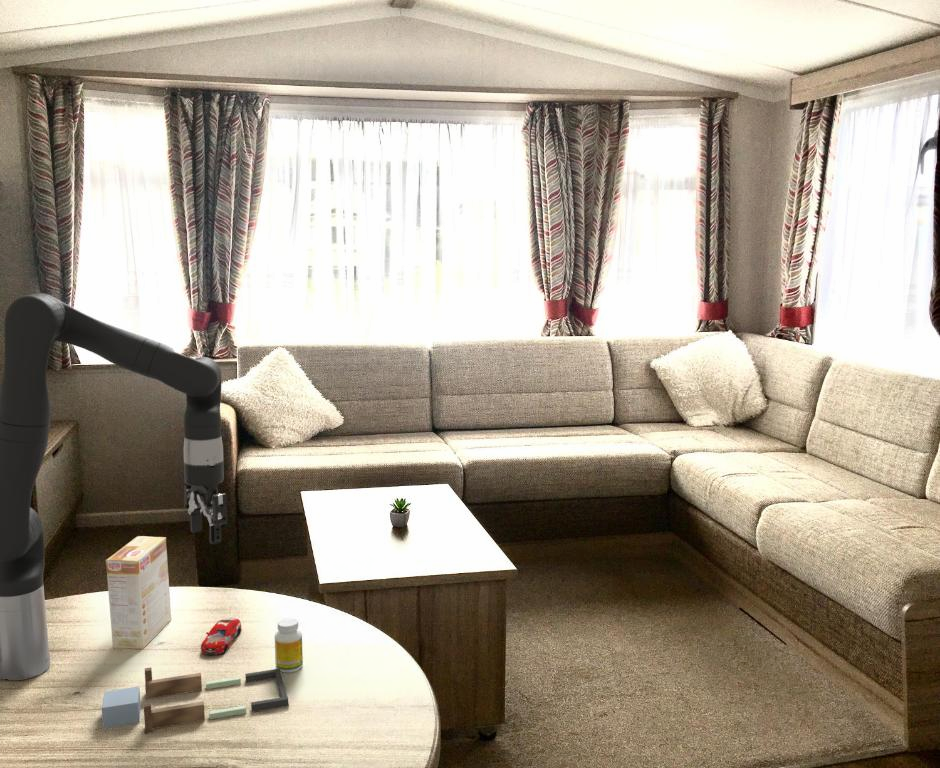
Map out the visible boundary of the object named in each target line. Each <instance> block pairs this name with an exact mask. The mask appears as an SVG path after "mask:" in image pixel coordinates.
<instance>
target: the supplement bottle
mask: <svg viewBox="0 0 940 768" xmlns="http://www.w3.org/2000/svg"><path fill="white" fill-rule="evenodd" d="M274 653H275V654H274V656H275V657H274V658H275V660H274V663H275V669H280V671H281V673H285V674H286V673H287V674H290V673H295V672H297V671H299V670H300V669H302V667H303V665H304V664H303V663H304V660H303V659H304V656H303V633H302V631H301V630H300V629H299V620H298V619H297V618H293V617H289V618H288V617H286V618H283V619H280V620H278V622H277V631H276V632H275V634H274Z"/></svg>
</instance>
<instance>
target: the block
mask: <svg viewBox="0 0 940 768" xmlns="http://www.w3.org/2000/svg"><path fill="white" fill-rule="evenodd" d="M101 704H102V705H101V717H102V718H101V719H102V728H103V729H104V728H111V727H118V726H125V725H131V724H137V723H140V717H141V709H142V708H141V707H142V706H141V704H142V703H141V692H140V686H133V687H132V686H131V687H125V688H119V689H112V690H105V691H104V692H103V697H102V703H101Z"/></svg>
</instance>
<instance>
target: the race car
mask: <svg viewBox="0 0 940 768" xmlns="http://www.w3.org/2000/svg"><path fill="white" fill-rule="evenodd" d="M241 632H242V623H241V620H240V619H239V618H233V617H226V618H223V619H220V620H218V621H217V622H216V623H215V624H214V625H213V626H212V628H211V629H210V630H209V632H207V631H206V632H205V634H206V636H205V638H204V640H203V641H202V642H201V644H200V651H201V653H202V654H205V655H210V656H211V655H221V654H225V653H226V652H227V651H228V649H229V648H230V647H231V646H232V645H233V643H234V642H235V640H236V639H238V637H239V636H240V635H241Z"/></svg>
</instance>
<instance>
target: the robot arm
mask: <svg viewBox="0 0 940 768" xmlns="http://www.w3.org/2000/svg"><path fill="white" fill-rule="evenodd" d="M3 329H4V366H3V371H2V373H3V374H2V380H1V385H0V680H5V679H8V680H7V681H22V680H26V679H27V680H28V679H31V678H34V677H37V676H39V675H41V674H43V673H45V672H46V671H47V670H48V669H49V668H50V666H51V659H50V658H51V656H50V655H51V654H50V647H49V645H50V644H49V637H48V636H49V635H48V624H47V611H46V610H47V609H46V600H45V599H46V598H45V589H44V571H45V564H46V563H45V562H46V561H45V558H46V557H45V537H44V536H45V535H44V529H43V522H42V520H41V518H40V516H39V514H38V512H37V511H36V510H35V509H33V508H32V507H31V501H32V495H33V489H34V486H35V483H36V480H37V478H38V476H39V472H40V470H41V468H42V464H43V461H44V459H45V456H46V452H47V447H48V442H49V435H50V428H51V420H52V418H51V417H52V415H51V414H52V411H51V410H52V409H51V407H52V406H51V399H50V392H49V388H48V387H49V386H48V380H47V379H48V378H47V372H48V369H47V368H48V363H49V357H50V351H51V349H52V348H51V347H52V344H53V343H52V342H58V343H63V344H67V345H72V346H76V347H79V348H81V349H84V350H86V351H88V352H91V353H93V354H94V355H98V357H101V358H102V359H105V360H106V361H108V362H110V363H111V364H113V365H115V366H118V367H120V368H123V369H125V370H126V371H130V372H133V373H135V374H138V375H140V376H144V377H147V378H149V379H153V380H156V381H159V382H161V383H162V384H164V385H166V386H168V387H171V388H173V389H174V390H176V391H178V392H180V393H183V394H185V395H186V399H185V400H186V408H185V411H184V414H183V415H184V417H183V427H184V428H183V430H184V431H183V432H184V433H183V434H184V438H183V439H184V442H183V471H184V472H183V474H184V477H183V478H184V481H183V495H184V496H183V507H184V509H185V510H187V512H188V515H189V517H190V519H189V525H190V527H189V528H190V532H191V533H192V534H195V533H200V532H202V531H203V516H204V517H206V518H207V521H208V523H209V525H208V529H209V530H208V531H209V532H208V533H209V534H208V535H209V543H210V544H211V545H216V544H220V543H221V542H222V539H223V538H222V537H223V536H222V525H225V524H228V506H227V495H226V493H225V492H224V493H219V491H218V485H220V484H221V483H223V481H224V478H225V475H224V474H225V471H224V467H225V466H224V464H225V463H224V446H223V445H224V444H223V438H222V417H221V399H222V372H221V371H222V370H221V367H220V365H219V364H218V363H217V362H216V361H215V360H213V359H212V358H210V357H206V356H199V357H196V358H193V357H190V356H187V355H184V354H181V353H180V352H177V351H175V350H174V349H173V348H172V347H170V346H168V345H167V344H164V343H161V342H159V341H156V340H153V339H150V338H148V337H145V336H143V335H139V334H136V333H134V332H130V331H129V330H126V329H123V328H119V327H117V326H114V325H111V324H109V323H105V322H103V321H101V320H98V319H96V318H94V317H92V316H90V315H88V314H85V313H83V312H81V311H79V310H78V309H75V308H74V307H73V306H71V305H70V304H67V303H66V302H63V301H61V300H59V299H58V298H57V297H54V296H52V295H50V294H48V293H45V292H44V293H41V292H35V293H34V292H33V293H31V294H26V295H22V296H19V297H17V298H16V299H14V300H13V301H12V302H10V304H9V306H8V307H7V309H6V311H5V316H4V328H3Z"/></svg>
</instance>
